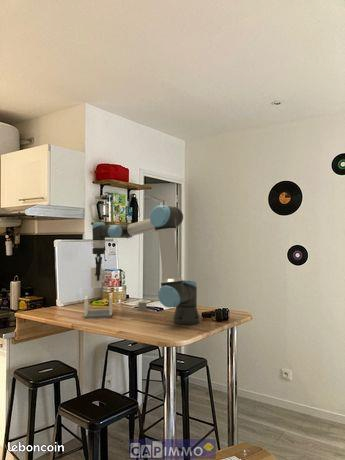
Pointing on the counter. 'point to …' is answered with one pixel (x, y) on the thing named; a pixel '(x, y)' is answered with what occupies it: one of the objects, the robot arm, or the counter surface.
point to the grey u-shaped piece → (97, 313)
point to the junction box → (142, 305)
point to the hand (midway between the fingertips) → (98, 285)
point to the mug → (93, 277)
